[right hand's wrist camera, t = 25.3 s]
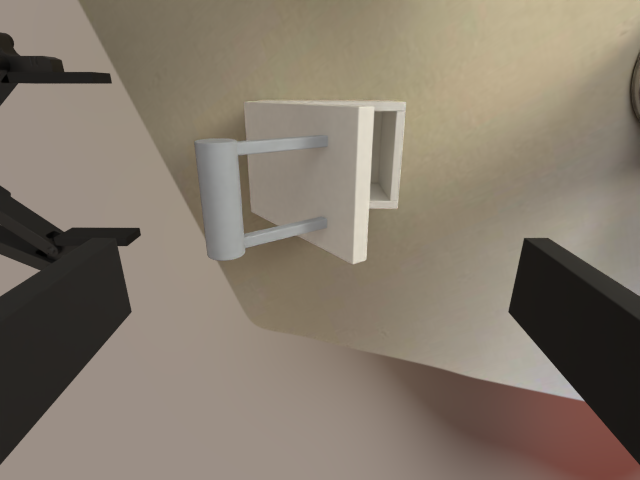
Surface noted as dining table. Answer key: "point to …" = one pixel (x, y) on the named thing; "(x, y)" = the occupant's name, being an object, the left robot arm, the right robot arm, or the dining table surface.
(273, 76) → the dining table surface
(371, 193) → the chest
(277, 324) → the dining table surface
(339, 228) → the grey and white piece
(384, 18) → the dining table surface
